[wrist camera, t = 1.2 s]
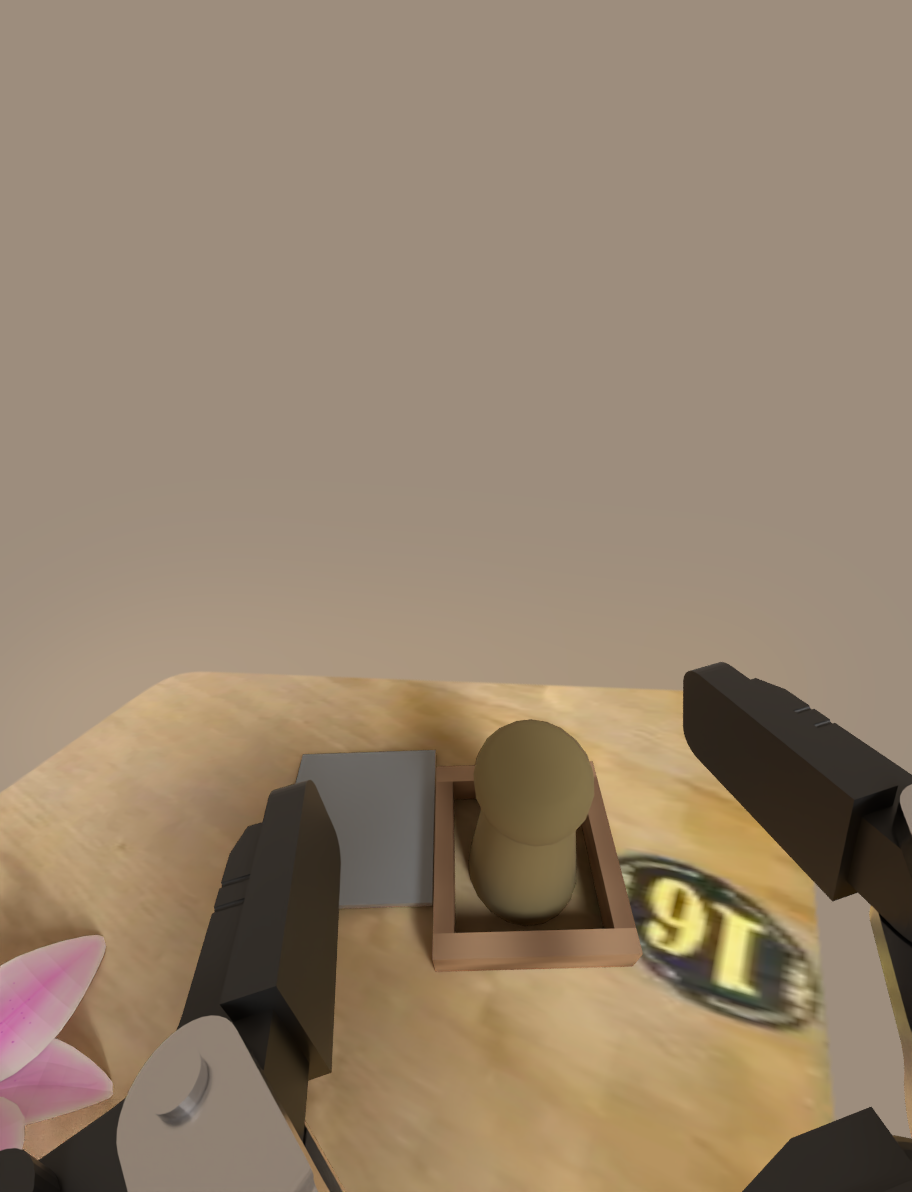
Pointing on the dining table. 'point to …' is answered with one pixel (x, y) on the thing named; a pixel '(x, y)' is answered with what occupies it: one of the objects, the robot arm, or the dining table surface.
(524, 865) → the cork
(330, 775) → the plate
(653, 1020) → the dining table surface
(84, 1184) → the robot arm
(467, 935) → the caddy
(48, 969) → the lily
